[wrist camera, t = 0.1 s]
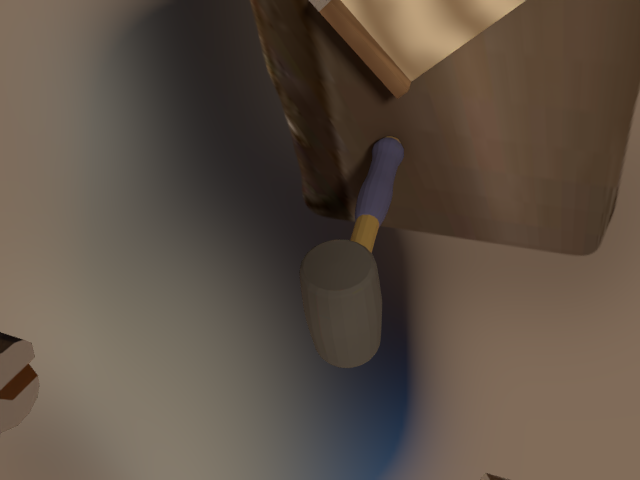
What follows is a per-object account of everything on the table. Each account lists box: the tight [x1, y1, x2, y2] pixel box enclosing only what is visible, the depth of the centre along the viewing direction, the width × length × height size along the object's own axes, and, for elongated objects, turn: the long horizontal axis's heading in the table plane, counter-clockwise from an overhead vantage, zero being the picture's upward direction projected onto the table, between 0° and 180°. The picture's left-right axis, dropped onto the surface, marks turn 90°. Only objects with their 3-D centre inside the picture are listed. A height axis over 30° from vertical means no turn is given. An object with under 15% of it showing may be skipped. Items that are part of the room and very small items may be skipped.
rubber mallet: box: [300, 136, 404, 368], centre depth 58 cm, size 12×8×30 cm, turn 8°
